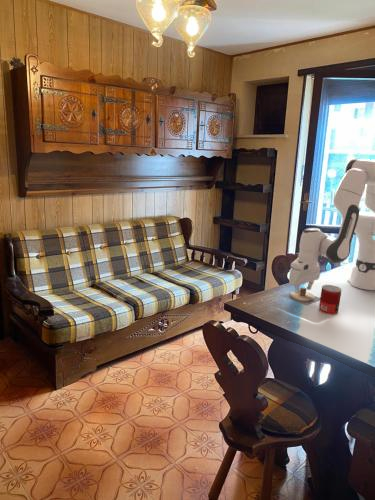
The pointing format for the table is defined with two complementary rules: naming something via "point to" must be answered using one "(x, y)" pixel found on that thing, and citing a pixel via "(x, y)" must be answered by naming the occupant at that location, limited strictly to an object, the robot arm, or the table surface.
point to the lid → (302, 295)
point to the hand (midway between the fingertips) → (303, 291)
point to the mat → (302, 301)
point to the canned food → (330, 299)
